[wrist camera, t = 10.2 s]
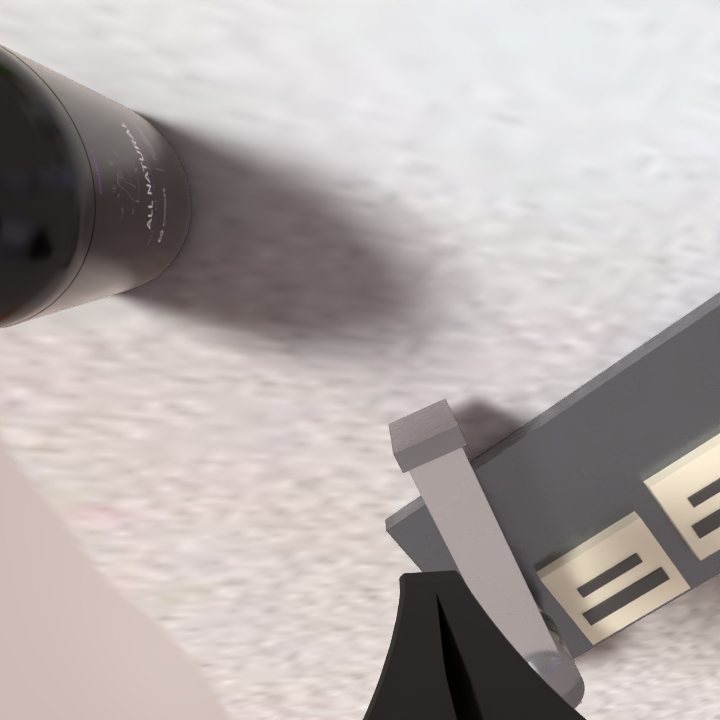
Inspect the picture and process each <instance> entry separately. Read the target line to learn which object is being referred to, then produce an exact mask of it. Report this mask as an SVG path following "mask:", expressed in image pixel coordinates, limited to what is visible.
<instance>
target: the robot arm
mask: <svg viewBox="0 0 720 720" xmlns="http://www.w3.org/2000/svg"><path fill="white" fill-rule="evenodd" d="M399 580H400V599H399V606H398V612H397V618H396V622H395V627H394V631H393V635H392V640H391V644H390V647H389V650H388V654H387V657H386V660H385V663H384V666H383V670H382V673H381V676H380V679H379V681H378V684H377V687H376V689H375V692H374V695H373V697H372V700H371V702H370V704H369V707H368V709H367V712H366V714H365V716H364V718H363V720H586V719H585V718H584V717H583V716H582V715H580V714H579V713H578V712H577V711H576V710H575V709H574V708H573V707H572V706H570V705H569V704H568V703H567V702H566V701H565V700H564V699H563V698H562V697H561V696H560V695H559V694H558V693H557V692H556V691H555V690H554V689H553V688H551V687H550V686H549V685H548V684H547V683H546V682H545V681H544V679H543V678H542V677H541V676H540V675H539V674H538V673H537V672H536V671H535V670H534V669H533V668H532V667H531V666H530V665H529V664H528V662H527V661H526V660H525V659H524V658H523V657H522V656H521V655H520V654H519V652H518V651H517V650H516V649H515V648H514V647H513V646H512V644H511V643H510V642H509V641H508V640H507V638H506V637H505V636H504V635H503V633H502V632H501V631H500V630H499V628H498V627H497V626H496V625H495V623H494V622H493V621H492V620H491V618H490V617H489V616H488V614H487V613H486V612H485V610H484V609H483V608H482V606H481V605H480V604H479V602H478V601H477V599H476V598H475V596H474V595H473V594H472V592H471V591H470V589H469V588H468V586H467V585H466V583H465V581H464V580H463V578H462V576H461V575H460V574H459V573H458V572H457V571H456V570H451V571H435V572H419V573H404V574H403V575H402V576H401V577H400V578H399Z"/></svg>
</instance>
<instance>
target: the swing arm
mask: <svg viewBox="0 0 720 720" xmlns="http://www.w3.org/2000/svg"><path fill="white" fill-rule="evenodd" d="M389 430H390V436H391V443H392V449H393V454H394V456H395V458H396V460H397V462H398V464H399V466H400V468H401V470H402V472H403V473H405V472H407V471H409V472H410V474H411V476H412V478H413V480H414V482H415V484H416V486H417V488H418V490H419V492H420V494H421V496H422V498H423V500H424V502H425V504H426V506H427V508H428V510H429V512H430V514H431V515H432V517H433V519H434V521H435V523H436V525H437V527H438V529H439V531H440V533H441V535H442V537H443V539H444V541H445V543H446V545H447V547H448V549H449V551H450V553H451V555H452V557H453V559H454V561H455V563H456V565H457V567H458V569H459V571H460V573H461V575H462V576H463V578H464V580H465V582H466V584H467V586H468V588H469V589H470V591H471V592H472V594H473V595H474V596H475V598H476V599H477V601H478V602H479V604H480V605H481V606H482V608H483V609H484V610H485V612H486V613H487V614H488V616H489V617H490V618H491V620H492V621H493V622H494V623H495V625H496V626H497V627H498V628H499V630H500V631H501V632H502V633H503V635H504V636H505V637H506V638H507V640H508V641H509V642H510V643H511V644H512V646H513V647H514V648H515V649H516V650H517V651H518V652H519V654H520V655H521V656H522V657H523V658H524V659H525V660H526V661H527V662H528V664H529V665H530V666H531V667H532V668H533V669H534V670H535V671H536V672H537V673H538V674H539V675H540V676H541V677H542V678H543V679H544V681H545V682H546V683H547V684H548V685H549V686H550V687H551V688H553V689H554V690H555V691H556V692H557V693H558V694H559V695H560V696H561V697H562V698H563V699H564V700H565V701H566V702H567V703H568V704H569V705H570V706H572V707H573V708H574V709H575V708H576V707H577V706H578V704H581V703H582V701H581V700H582V698H583V695H584V690H585V689H584V682H583V679H582V677H581V675H580V673H579V671H578V669H577V667H576V665H575V663H574V661H573V659H572V657H571V654H570V652H569V650H568V648H567V646H566V644H565V642H564V640H563V638H562V636H561V634H560V632H559V630H558V628H557V626H556V624H555V622H554V621H553V619H552V618H551V617H550V616H548V615H547V614H545V613H543V612H541V611H539V609H538V607H537V605H536V603H535V601H534V598H533V596H532V594H531V592H530V590H529V588H528V586H527V584H526V581H525V579H524V577H523V575H522V573H521V571H520V569H519V567H518V564H517V562H516V560H515V558H514V556H513V554H512V552H511V550H510V547H509V545H508V543H507V541H506V539H505V537H504V535H503V533H502V530H501V528H500V526H499V524H498V522H497V520H496V518H495V516H494V513H493V511H492V509H491V507H490V505H489V503H488V501H487V498H486V496H485V494H484V492H483V490H482V488H481V486H480V484H479V481H478V479H477V477H476V475H475V473H474V471H473V469H472V467H471V464H470V462H469V460H468V458H467V456H466V454H465V452H464V450H463V447H464V446H466V445H467V443H466V441H465V439H464V436H463V434H462V432H461V430H460V428H459V426H458V424H457V422H456V419H455V417H454V415H453V413H452V411H451V409H450V407H449V405H448V403H447V401H446V399H443V400H441V401H439V402H437V403H434V404H432V405H430V406H428V407H426V408H423V409H421V410H419V411H417V412H414V413H412V414H410V415H408V416H406V417H403V418H401V419H399V420H397V421H395V422H392V423H390V424H389Z"/></svg>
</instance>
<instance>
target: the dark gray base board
mask: <svg viewBox="0 0 720 720" xmlns="http://www.w3.org/2000/svg"><path fill="white" fill-rule="evenodd" d="M719 433H720V293H718V294H717V295H715V296H714V297H712V298H711V299H709V300H708V301H706V302H705V303H703V304H702V305H701V306H699V307H698V308H696V309H695V310H693V311H692V312H690V313H689V314H687V315H686V316H684V317H683V318H681V319H680V320H679V321H677V322H676V323H674V324H673V325H671V326H670V327H668V328H667V329H665V330H664V331H662V332H661V333H659V334H658V335H656V336H655V337H654V338H652V339H651V340H649V341H648V342H646V343H645V344H643V345H642V346H640V347H639V348H637V349H636V350H634V351H633V352H632V353H630V354H629V355H627V356H626V357H624V358H623V359H621V360H620V361H618V362H617V363H615V364H614V365H612V366H611V367H609V368H608V369H607V370H605V371H604V372H602V373H601V374H599V375H598V376H596V377H595V378H593V379H592V380H590V381H589V382H587V383H586V384H585V385H583V386H582V387H580V388H579V389H577V390H576V391H574V392H573V393H571V394H570V395H568V396H567V397H565V398H564V399H562V400H561V401H560V402H558V403H557V404H555V405H554V406H552V407H551V408H549V409H548V410H546V411H545V412H543V413H542V414H540V415H539V416H538V417H536V418H535V419H533V420H532V421H530V422H529V423H527V424H526V425H524V426H523V427H521V428H520V429H518V430H517V431H515V432H514V433H513V434H511V435H510V436H508V437H507V438H505V439H504V440H502V441H501V442H499V443H498V444H496V445H495V446H493V447H492V448H491V449H489V450H488V451H486V452H485V453H483V454H482V455H480V456H479V457H477V458H476V459H474V460H473V461H471V462H470V464H471V467H472V469H473V471H474V473H475V475H476V477H477V479H478V481H479V484H480V486H481V488H482V490H483V492H484V494H485V496H486V498H487V501H488V503H489V505H490V507H491V509H492V511H493V513H494V516H495V518H496V520H497V522H498V524H499V526H500V528H501V530H502V533H503V535H504V537H505V539H506V541H507V543H508V545H509V547H510V550H511V552H512V554H513V556H514V558H515V560H516V562H517V564H518V567H519V569H520V571H521V573H522V575H523V577H524V579H525V581H526V584H527V586H528V588H529V590H530V592H531V594H532V596H533V598H534V601H535V603H536V605H537V607H538V609H539V611H541V612H543V613H545V614H547V615H548V616H550V617H551V618H552V619H553V621H554V622H555V624H556V626H557V628H558V630H559V632H560V634H561V636H562V638H563V640H564V642H565V644H566V646H567V648H568V650H569V652H570V654H571V657H572V659H574V658H575V657H577V656H579V655H580V654H582V653H584V652H586V651H587V650H589V649H591V648H592V647H594V646H596V645H598V644H599V643H601V642H603V641H604V640H606V639H608V638H609V637H611V636H613V635H615V634H616V633H618V632H620V631H621V630H623V629H625V628H627V627H628V626H630V625H632V624H633V623H635V622H637V621H639V620H640V619H642V618H644V617H645V616H647V615H649V614H650V613H652V612H654V611H656V610H657V609H659V608H661V607H662V606H664V605H666V604H668V603H669V602H671V601H673V600H674V599H676V598H678V597H679V596H681V595H683V594H685V593H686V592H688V591H690V590H691V589H693V588H695V587H697V586H698V585H700V584H702V583H703V582H705V581H707V580H709V579H710V578H712V577H714V576H715V575H717V574H719V573H720V549H719V550H718V551H716V552H714V553H713V554H711V555H709V556H708V557H706V558H704V559H703V560H701V561H700V560H699V559H698V558H697V557H696V556H695V555H694V554H693V553H692V551H691V550H690V548H689V547H688V545H687V544H686V543H685V541H684V540H683V538H682V537H681V535H680V534H679V533H678V531H677V530H676V528H675V527H674V525H673V524H672V522H671V521H670V520H669V518H668V517H667V515H666V514H665V512H664V511H663V510H662V508H661V507H660V505H659V504H658V502H657V501H656V500H655V498H654V497H653V495H652V494H651V492H650V491H649V490H648V488H647V487H646V485H645V484H644V481H645V480H647V479H648V478H650V477H652V476H653V475H655V474H656V473H658V472H659V471H661V470H663V469H664V468H666V467H667V466H669V465H670V464H672V463H674V462H675V461H677V460H678V459H680V458H682V457H683V456H685V455H686V454H688V453H689V452H691V451H693V450H694V449H696V448H697V447H699V446H700V445H702V444H704V443H705V442H707V441H708V440H710V439H712V438H713V437H715V436H716V435H718V434H719ZM634 511H635V512H636V513H637V515H638V516H639V517H640V518H641V519H642V521H643V522H644V523H645V525H646V526H647V528H648V529H649V530H650V532H651V533H652V535H653V536H654V537H655V539H656V540H657V542H658V543H659V544H660V546H661V547H662V549H663V550H664V551H665V553H666V554H667V556H668V557H669V558H670V560H671V561H672V563H673V564H674V565H675V567H676V568H677V570H678V571H679V572H680V574H681V575H682V577H683V578H684V579H685V581H686V582H687V584H688V585H689V586H690V589H688V590H687V591H685V592H683V593H681V594H680V595H678V596H676V597H675V598H673V599H671V600H670V601H668V602H666V603H664V604H663V605H661V606H659V607H658V608H656V609H654V610H652V611H651V612H649V613H647V614H646V615H644V616H642V617H641V618H639V619H637V620H635V621H634V622H632V623H630V624H629V625H627V626H625V627H623V628H622V629H620V630H618V631H617V632H615V633H613V634H612V635H610V636H608V637H606V638H605V639H603V640H601V641H600V642H598V643H596V644H594V645H593V644H592V643H591V642H590V641H589V639H588V638H587V637H586V636H585V634H584V633H583V632H582V631H581V629H580V628H579V627H578V626H577V625H576V623H575V622H574V621H573V620H572V618H571V617H570V616H569V615H568V613H567V612H566V611H565V610H564V608H563V607H562V606H561V605H560V603H559V602H558V601H557V600H556V598H555V597H554V596H553V595H552V594H551V592H550V591H549V590H548V589H547V587H546V586H545V585H544V584H543V582H542V581H541V580H540V578H539V576H538V574H537V571H539V570H541V569H542V568H544V567H545V566H547V565H549V564H550V563H552V562H553V561H555V560H557V559H558V558H560V557H561V556H563V555H565V554H566V553H568V552H570V551H571V550H573V549H574V548H576V547H578V546H579V545H581V544H582V543H584V542H586V541H587V540H589V539H590V538H592V537H594V536H595V535H597V534H598V533H600V532H602V531H603V530H605V529H606V528H608V527H610V526H611V525H613V524H614V523H616V522H618V521H619V520H621V519H622V518H624V517H626V516H627V515H629V514H630V513H632V512H634ZM385 523H386V531H387V532H388V533H389V534H390V535H391V537H392V538H393V539H394V540H395V541H396V542H397V543H398V545H399V546H400V547H401V548H402V549H403V550H404V551H405V552H406V554H407V555H408V556H409V557H410V558H411V559H412V560H413V562H414V563H415V564H416V565H417V566H418V567H419V568H420V570H421V571H422V572H435V571H451V570H456V571H457V572H458V573H459V574H460V575H461V573H460V571H459V569H458V567H457V565H456V563H455V561H454V559H453V557H452V555H451V553H450V551H449V549H448V547H447V545H446V543H445V541H444V539H443V537H442V535H441V533H440V531H439V529H438V527H437V525H436V523H435V521H434V519H433V517H432V515H431V514H430V512H429V510H428V508H427V506H426V504H425V502H424V500H423V498H422V496H420V497H419V498H417V499H416V500H414V501H413V502H411V503H410V504H408V505H407V506H405V507H404V508H402V509H401V510H399V511H398V512H397V513H395V514H394V515H392V516H391V517H389V518H388V519H386V520H385ZM461 576H462V575H461ZM462 578H463V576H462ZM463 580H464V578H463ZM464 581H465V580H464ZM465 583H466V582H465ZM466 585H467V584H466Z"/></svg>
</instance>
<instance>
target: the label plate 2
mask: <svg viewBox="0 0 720 720" xmlns="http://www.w3.org/2000/svg"><path fill="white" fill-rule="evenodd" d="M644 484H645V485H646V487H647V488H648V490H649V491H650V492H651V494H652V495H653V497H654V498H655V500H656V501H657V502H658V504H659V505H660V507H661V508H662V510H663V511H664V512H665V514H666V515H667V517H668V518H669V520H670V521H671V522H672V524H673V525H674V527H675V528H676V530H677V531H678V533H679V534H680V535H681V537H682V538H683V540H684V541H685V543H686V544H687V545H688V547H689V548H690V550H691V551H692V553H693V554H694V555H695V556H696V557H697V558H698V559H699V560H700V561H701V560H703V559H704V558H706V557H708V556H709V555H711V554H713V553H714V552H716V551H718V550H719V549H720V433H719V434H718V435H716V436H715V437H713V438H712V439H710V440H708V441H707V442H705V443H704V444H702V445H700V446H699V447H697V448H696V449H694V450H693V451H691V452H689V453H688V454H686V455H685V456H683V457H682V458H680V459H678V460H677V461H675V462H674V463H672V464H670V465H669V466H667V467H666V468H664V469H663V470H661V471H659V472H658V473H656V474H655V475H653V476H652V477H650V478H648V479H647V480H645V481H644Z"/></svg>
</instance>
